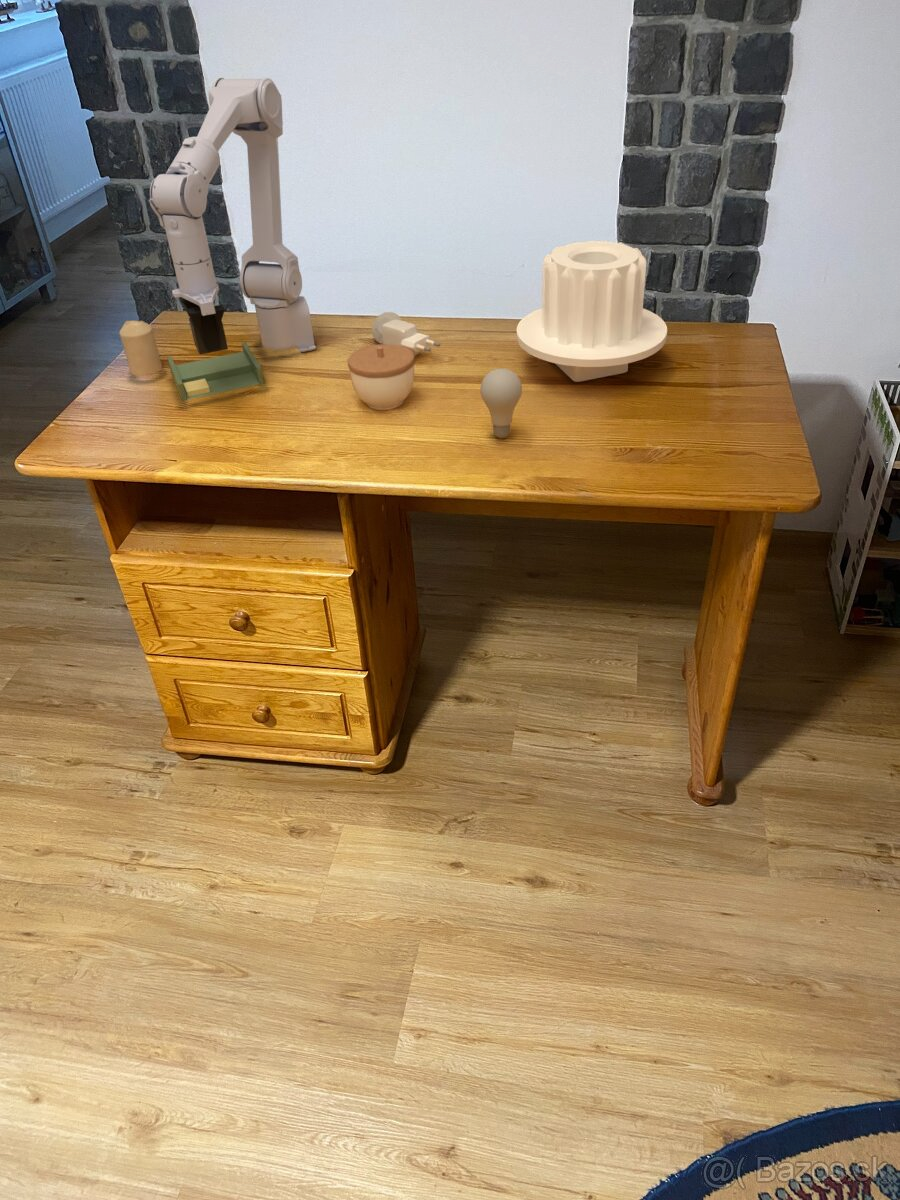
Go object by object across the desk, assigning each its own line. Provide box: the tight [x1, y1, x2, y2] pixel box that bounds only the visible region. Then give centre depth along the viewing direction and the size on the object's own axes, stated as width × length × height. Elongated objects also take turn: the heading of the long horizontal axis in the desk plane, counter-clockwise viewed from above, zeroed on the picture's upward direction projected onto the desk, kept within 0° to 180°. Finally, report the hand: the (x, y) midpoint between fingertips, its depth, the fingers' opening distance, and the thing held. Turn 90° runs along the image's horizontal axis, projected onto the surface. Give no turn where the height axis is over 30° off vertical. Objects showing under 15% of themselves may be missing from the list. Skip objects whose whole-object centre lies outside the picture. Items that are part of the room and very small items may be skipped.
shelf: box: [167, 341, 265, 402], centre depth 157 cm, size 14×12×4 cm
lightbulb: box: [480, 367, 523, 439], centre depth 135 cm, size 6×6×11 cm
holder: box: [188, 317, 229, 355], centre depth 146 cm, size 5×5×4 cm
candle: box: [119, 320, 163, 377], centre depth 160 cm, size 6×6×10 cm
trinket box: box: [347, 344, 415, 411], centre depth 147 cm, size 11×11×9 cm
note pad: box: [183, 379, 210, 397], centre depth 154 cm, size 4×4×1 cm
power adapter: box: [382, 319, 441, 357], centre depth 161 cm, size 11×5×6 cm, turn 50°
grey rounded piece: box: [371, 311, 402, 345], centre depth 170 cm, size 6×6×5 cm
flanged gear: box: [516, 239, 668, 383], centre depth 151 cm, size 25×25×19 cm
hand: (210, 343), depth 147 cm, fingers closed on holder, 4 cm apart
